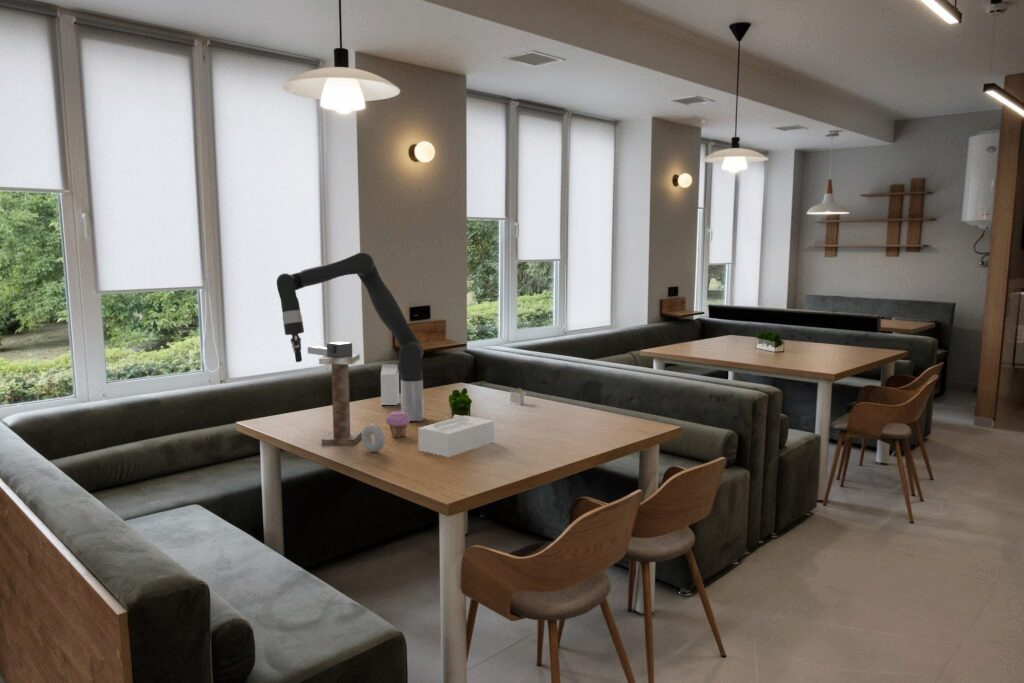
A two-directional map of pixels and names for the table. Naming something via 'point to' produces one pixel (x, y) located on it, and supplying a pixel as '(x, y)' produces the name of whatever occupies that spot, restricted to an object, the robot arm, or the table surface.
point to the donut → (377, 434)
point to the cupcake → (398, 423)
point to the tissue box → (455, 435)
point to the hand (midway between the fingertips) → (299, 361)
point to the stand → (341, 401)
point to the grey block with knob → (333, 350)
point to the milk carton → (389, 385)
